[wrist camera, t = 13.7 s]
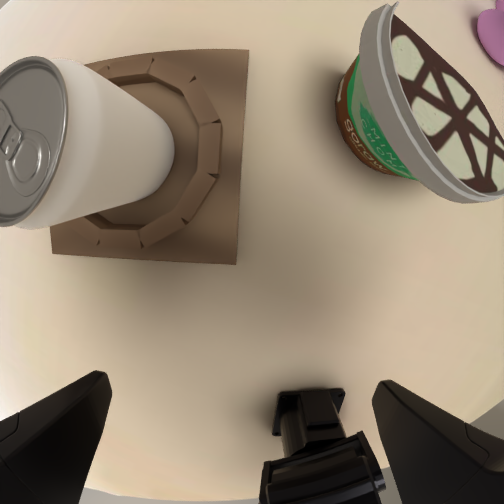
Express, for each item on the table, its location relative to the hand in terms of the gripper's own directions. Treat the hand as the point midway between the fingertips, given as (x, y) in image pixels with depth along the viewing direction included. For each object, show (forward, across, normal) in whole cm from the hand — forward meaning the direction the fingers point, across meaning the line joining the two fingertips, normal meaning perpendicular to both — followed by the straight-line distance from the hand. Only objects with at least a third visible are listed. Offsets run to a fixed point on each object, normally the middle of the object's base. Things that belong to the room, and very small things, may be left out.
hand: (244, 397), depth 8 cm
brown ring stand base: (+13, +8, -8) cm, 17 cm away
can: (+12, +8, -8) cm, 17 cm away
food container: (+13, -9, -10) cm, 19 cm away
